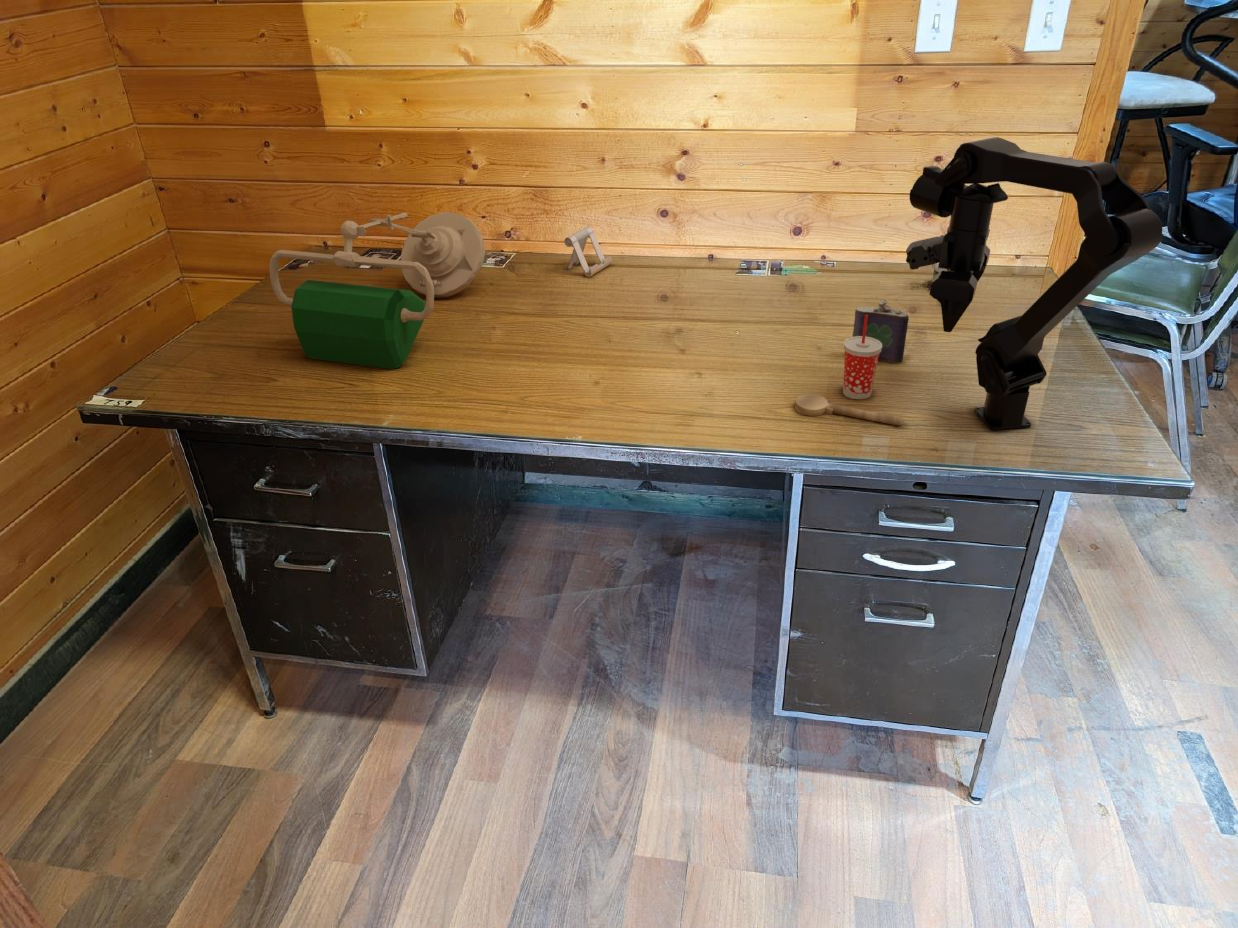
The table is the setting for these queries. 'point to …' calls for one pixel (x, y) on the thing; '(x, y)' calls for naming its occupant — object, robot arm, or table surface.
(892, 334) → the flask
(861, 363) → the beverage cup
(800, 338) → the table surface
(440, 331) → the table surface
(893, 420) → the spoon
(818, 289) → the table surface
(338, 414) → the table surface
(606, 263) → the tablet stand
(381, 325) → the banker's lamp
